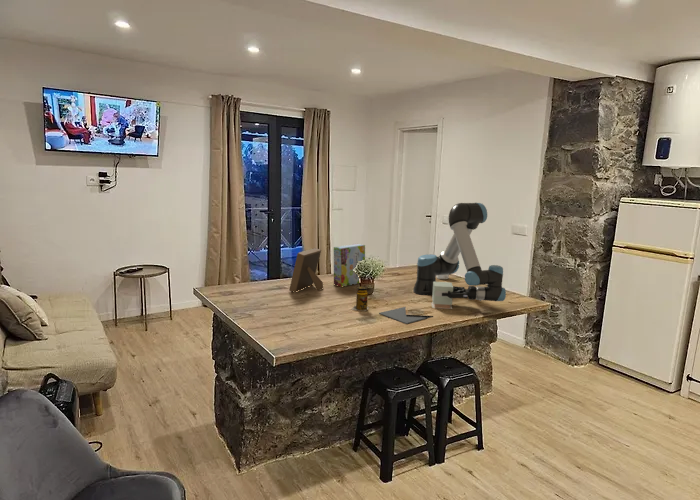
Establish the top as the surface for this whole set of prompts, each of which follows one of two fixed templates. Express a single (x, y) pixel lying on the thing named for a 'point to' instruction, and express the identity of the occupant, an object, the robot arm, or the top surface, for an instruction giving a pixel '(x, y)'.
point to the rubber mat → (403, 316)
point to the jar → (442, 276)
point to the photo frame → (306, 270)
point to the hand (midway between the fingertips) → (434, 290)
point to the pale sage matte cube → (442, 287)
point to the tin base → (441, 306)
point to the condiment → (361, 299)
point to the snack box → (347, 263)
